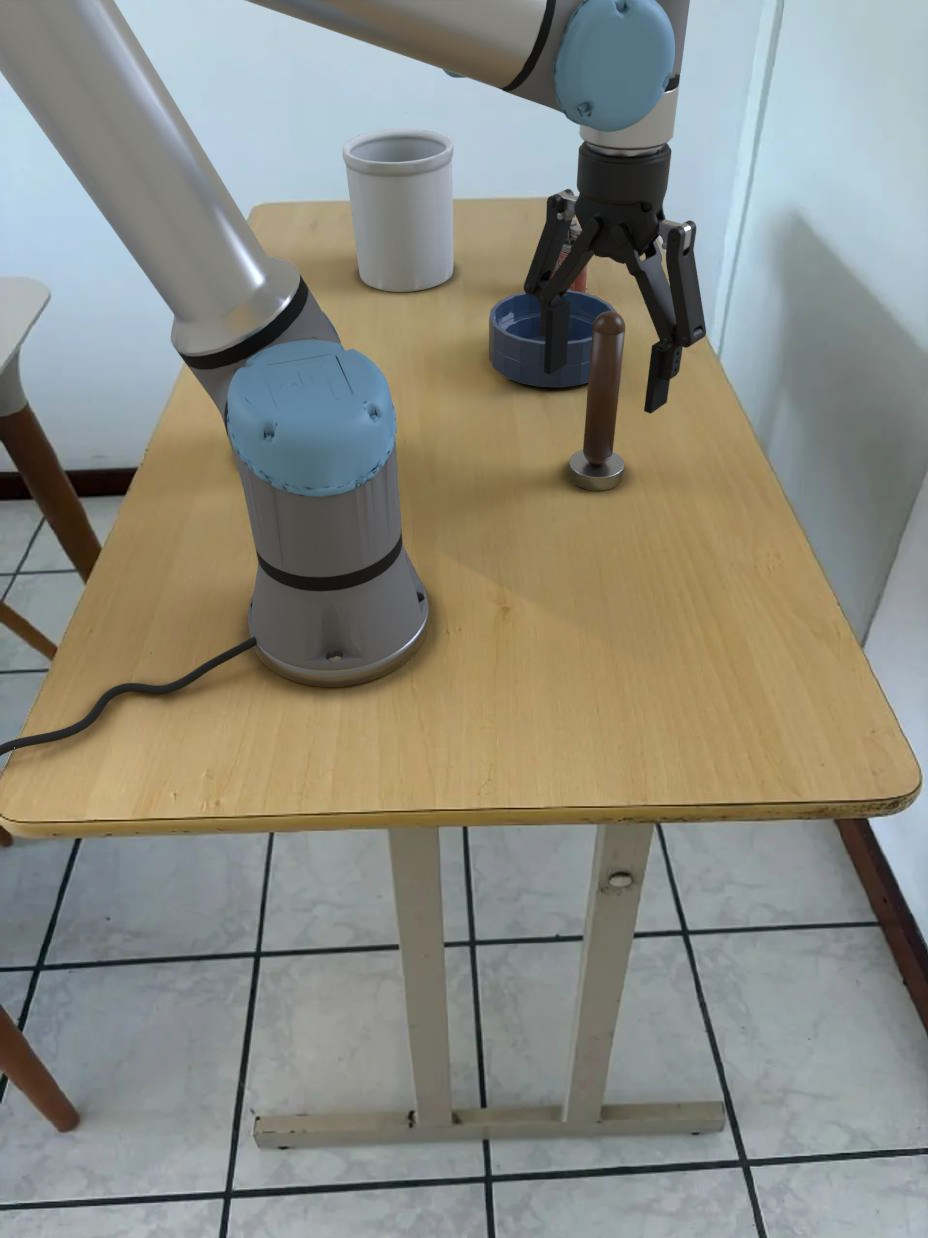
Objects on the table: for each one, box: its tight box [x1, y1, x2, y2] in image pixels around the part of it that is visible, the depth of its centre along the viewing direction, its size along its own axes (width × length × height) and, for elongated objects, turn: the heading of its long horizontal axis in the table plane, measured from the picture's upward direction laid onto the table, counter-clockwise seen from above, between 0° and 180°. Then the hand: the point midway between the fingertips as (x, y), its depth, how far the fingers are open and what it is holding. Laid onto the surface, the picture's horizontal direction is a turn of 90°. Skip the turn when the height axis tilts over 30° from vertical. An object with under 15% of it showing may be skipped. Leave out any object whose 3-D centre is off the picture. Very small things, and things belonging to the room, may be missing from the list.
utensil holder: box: [341, 128, 454, 293], centre depth 133 cm, size 15×15×18 cm
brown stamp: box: [568, 311, 626, 492], centre depth 93 cm, size 6×6×18 cm
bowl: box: [488, 290, 618, 388], centre depth 116 cm, size 15×15×6 cm
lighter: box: [551, 219, 589, 293], centre depth 129 cm, size 8×3×10 cm, turn 34°
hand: (603, 387), depth 92 cm, fingers open, 11 cm apart
